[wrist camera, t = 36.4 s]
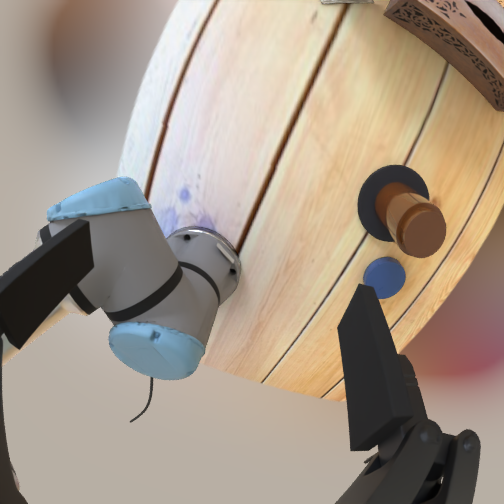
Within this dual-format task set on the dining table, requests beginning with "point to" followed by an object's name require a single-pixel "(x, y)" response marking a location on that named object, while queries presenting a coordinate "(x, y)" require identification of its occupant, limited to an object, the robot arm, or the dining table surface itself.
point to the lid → (385, 277)
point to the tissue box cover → (461, 38)
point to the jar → (410, 220)
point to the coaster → (374, 187)
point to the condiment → (346, 1)
